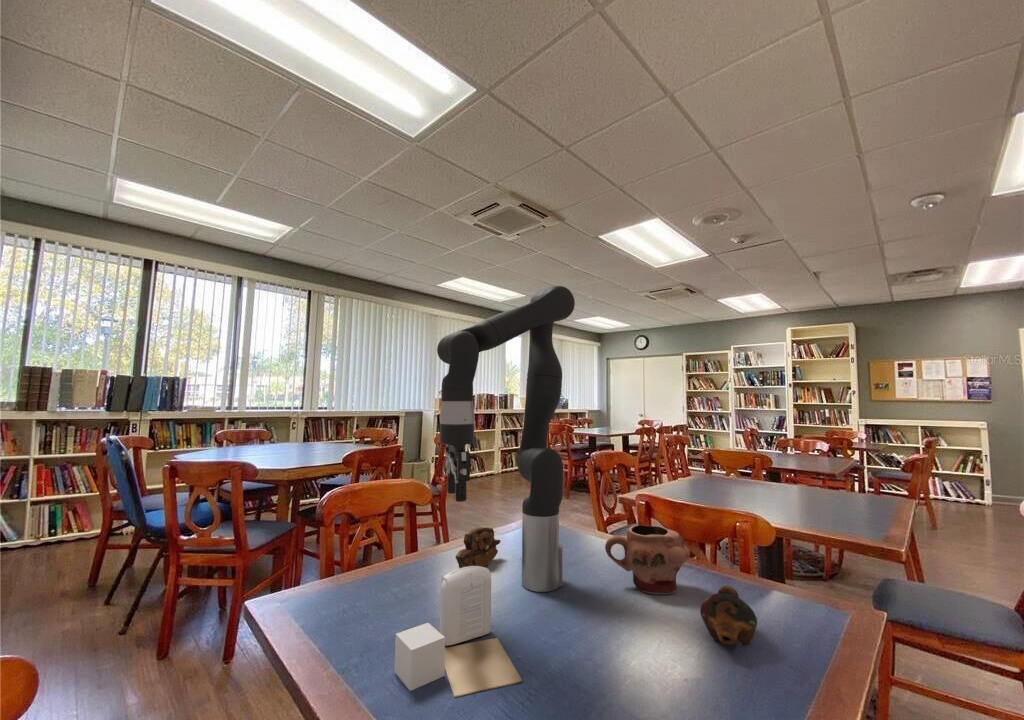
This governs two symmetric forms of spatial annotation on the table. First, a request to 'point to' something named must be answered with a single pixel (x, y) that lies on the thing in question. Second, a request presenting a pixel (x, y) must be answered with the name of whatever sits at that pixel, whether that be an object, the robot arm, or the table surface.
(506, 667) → the cork mat
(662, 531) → the sculpted ceramic mug
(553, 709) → the table surface
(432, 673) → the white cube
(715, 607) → the decorative turtle
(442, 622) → the photo printer
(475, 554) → the wooden carving
